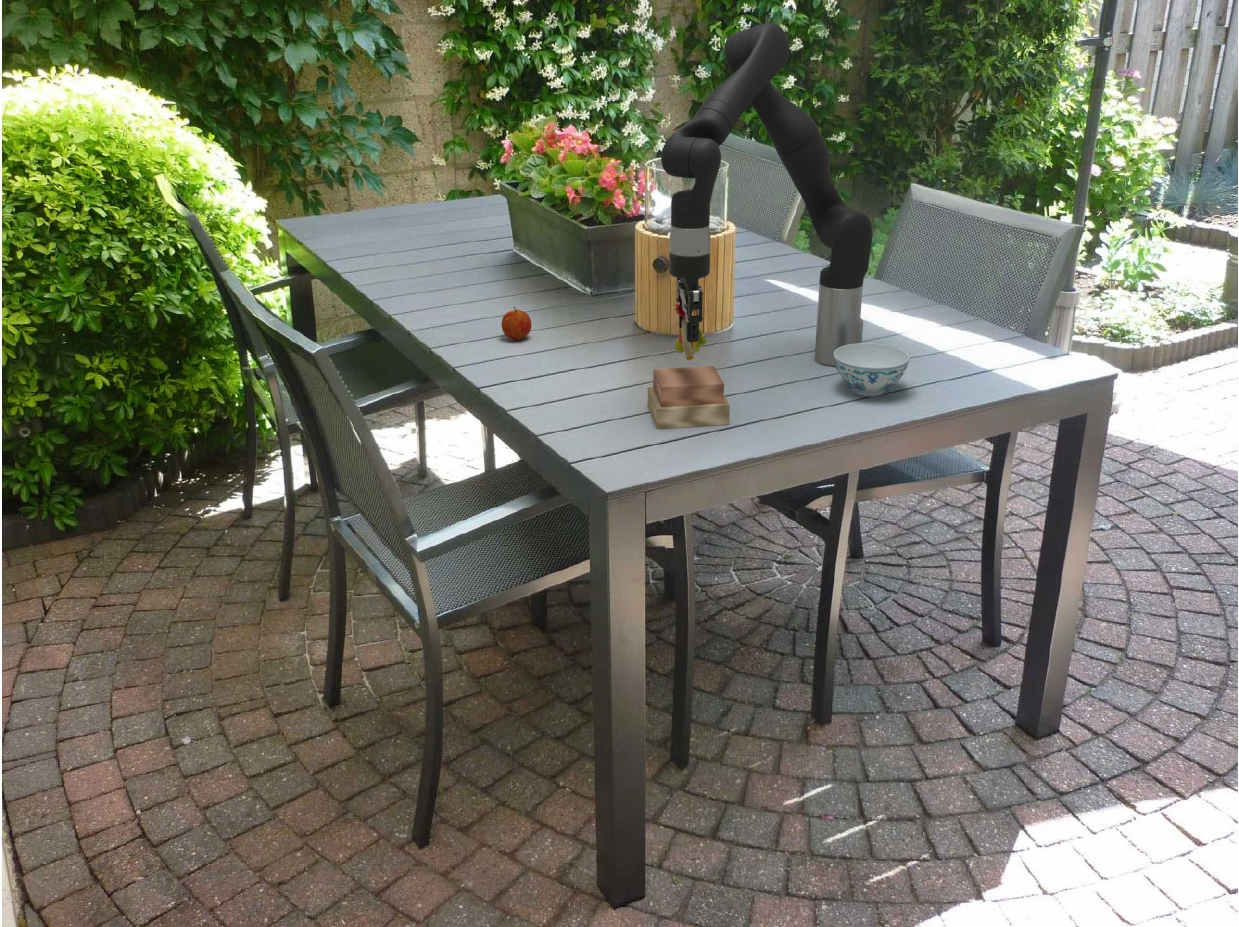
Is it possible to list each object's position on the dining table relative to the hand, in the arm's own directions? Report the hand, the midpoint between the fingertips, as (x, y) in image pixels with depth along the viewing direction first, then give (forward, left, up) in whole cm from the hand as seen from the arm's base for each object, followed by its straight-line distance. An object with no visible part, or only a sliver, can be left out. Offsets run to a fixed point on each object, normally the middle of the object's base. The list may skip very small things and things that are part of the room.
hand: (688, 334), depth 211 cm
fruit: (+31, -52, -17) cm, 63 cm away
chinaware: (-39, -7, -17) cm, 43 cm away
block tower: (0, 0, -16) cm, 16 cm away
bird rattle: (0, -1, -5) cm, 5 cm away
